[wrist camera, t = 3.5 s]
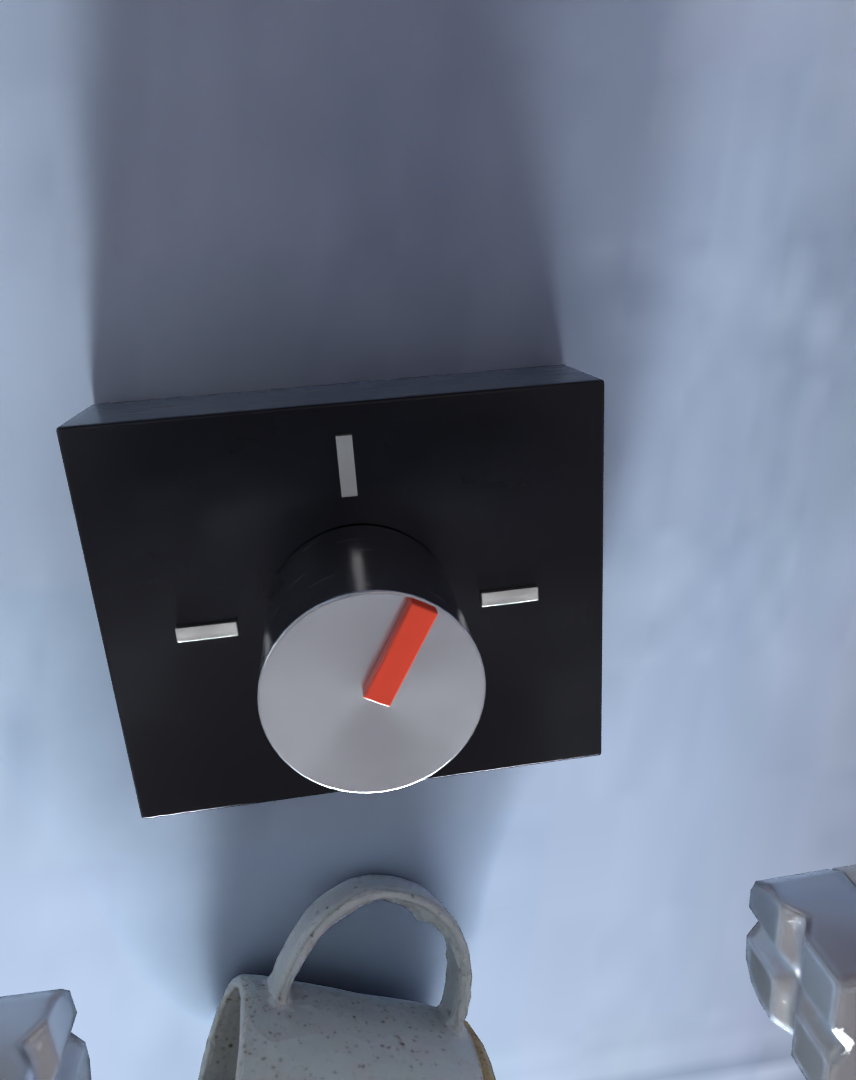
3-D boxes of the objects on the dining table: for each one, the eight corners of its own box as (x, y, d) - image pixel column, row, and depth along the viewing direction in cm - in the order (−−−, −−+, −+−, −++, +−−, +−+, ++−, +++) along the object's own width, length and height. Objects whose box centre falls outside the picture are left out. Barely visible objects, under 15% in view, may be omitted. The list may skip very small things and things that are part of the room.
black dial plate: (161, 752, 23) (139, 825, 20) (90, 404, 20) (52, 429, 17) (568, 699, 24) (604, 759, 21) (566, 364, 21) (608, 379, 18)
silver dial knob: (404, 717, 20) (428, 830, 16) (238, 658, 19) (218, 763, 15) (483, 567, 19) (530, 647, 15) (313, 494, 18) (314, 560, 14)
